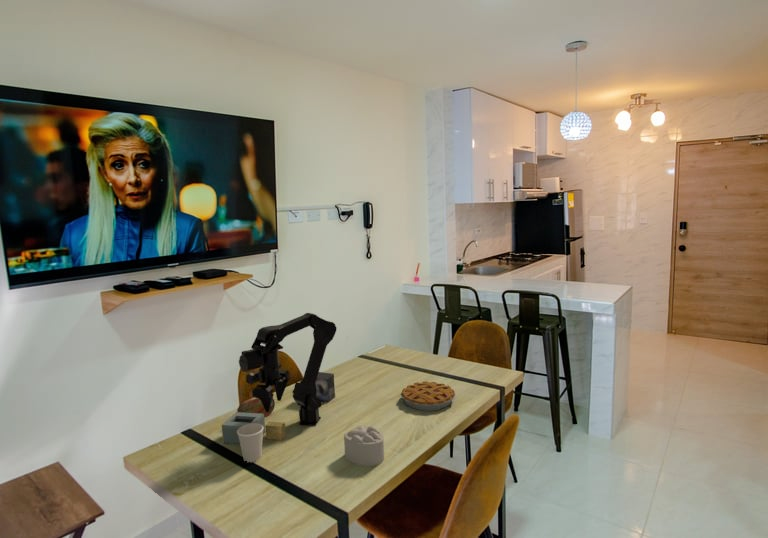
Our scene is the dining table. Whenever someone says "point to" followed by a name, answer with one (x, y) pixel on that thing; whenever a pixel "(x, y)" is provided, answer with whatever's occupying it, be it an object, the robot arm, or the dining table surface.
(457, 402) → the dining table surface
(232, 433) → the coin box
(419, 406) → the pie
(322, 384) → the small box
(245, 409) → the tin
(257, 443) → the dixie cup
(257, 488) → the dining table surface
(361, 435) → the lumpy-topped squat cylinder
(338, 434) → the dining table surface
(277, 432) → the tan rectangular block
